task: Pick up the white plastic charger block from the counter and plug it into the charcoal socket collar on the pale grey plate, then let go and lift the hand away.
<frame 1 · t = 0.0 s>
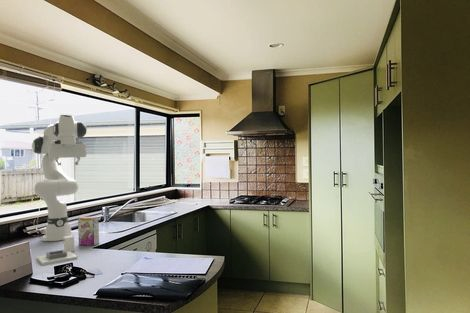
hand: (68, 165, 207), 48 cm above the counter, tool pointing down, fingers open, 8 cm apart
candy bar box: (88, 244, 212), on the counter
socket plate: (56, 258, 182), on the counter
charger block: (69, 251, 198), on the counter
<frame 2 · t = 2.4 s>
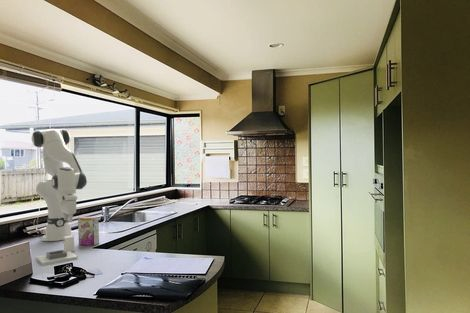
hand: (68, 220, 197), 17 cm above the counter, tool pointing down, fingers open, 8 cm apart
nothing on the counter moved.
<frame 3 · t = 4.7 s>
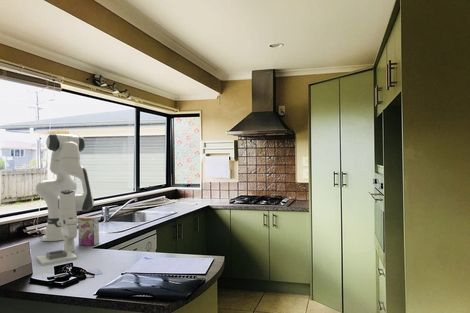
hand: (68, 243, 198), 4 cm above the counter, tool pointing down, fingers closed on charger block, 4 cm apart
charger block: (69, 250, 198), on the counter, touching gripper
everything else where it was.
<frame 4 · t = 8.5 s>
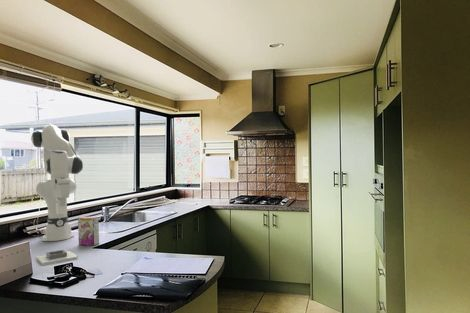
hand: (61, 206, 189), 26 cm above the counter, tool pointing down, fingers closed on charger block, 4 cm apart
charger block: (61, 213, 189), point 22 cm above the counter, touching gripper
everything else where it was.
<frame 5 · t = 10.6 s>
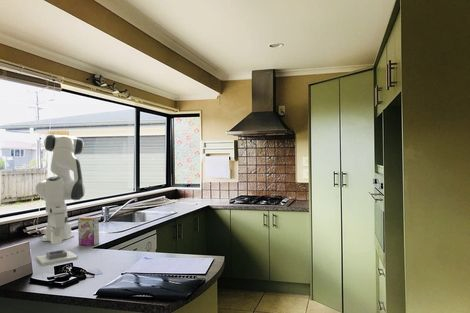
hand: (56, 235, 182), 12 cm above the counter, tool pointing down, fingers closed on charger block, 4 cm apart
charger block: (56, 242, 182), point 8 cm above the counter, touching gripper
everything else where it was.
when the fingers open (7 cm above the counter, at t = 12.2 s): charger block drops 2 cm, resting on socket plate.
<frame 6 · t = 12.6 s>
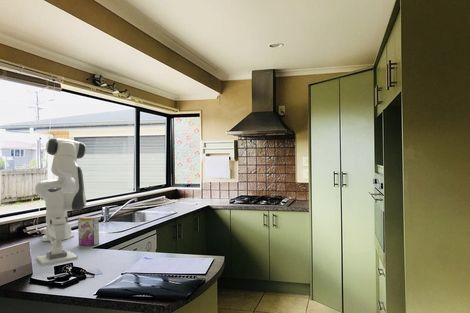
hand: (56, 245, 182), 7 cm above the counter, tool pointing down, fingers open, 8 cm apart
charger block: (56, 256, 182), point 1 cm above the counter, touching socket plate
everything else where it was.
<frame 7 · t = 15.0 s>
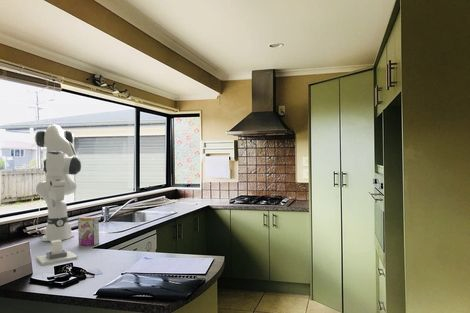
hand: (56, 208, 185), 26 cm above the counter, tool pointing down, fingers open, 8 cm apart
nothing on the counter moved.
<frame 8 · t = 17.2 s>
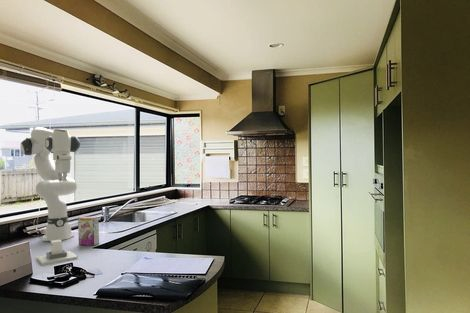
hand: (62, 181, 202), 39 cm above the counter, tool pointing down, fingers open, 8 cm apart
nothing on the counter moved.
at the end: charger block 0.1 cm off-centre on the socket plate, point 1.2 cm above the socket plate's base; charger block tilted 0°; the gripper is holding nothing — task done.
